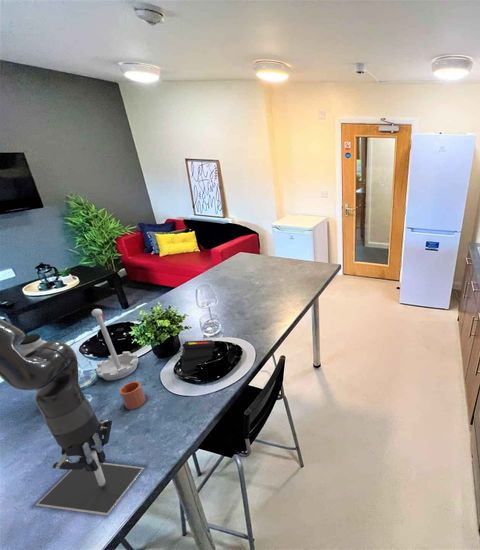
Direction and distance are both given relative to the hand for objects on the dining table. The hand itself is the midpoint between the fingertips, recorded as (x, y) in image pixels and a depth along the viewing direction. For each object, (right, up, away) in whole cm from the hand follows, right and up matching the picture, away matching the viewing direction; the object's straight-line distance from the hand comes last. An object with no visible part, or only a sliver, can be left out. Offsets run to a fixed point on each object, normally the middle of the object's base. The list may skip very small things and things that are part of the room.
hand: (97, 465), depth 75 cm
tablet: (-5, -9, +4) cm, 11 cm away
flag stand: (-31, +10, +44) cm, 54 cm away
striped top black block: (0, +10, +47) cm, 48 cm away
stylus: (-2, -8, +4) cm, 9 cm away
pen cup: (-13, +3, +29) cm, 32 cm away
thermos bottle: (-40, +4, +29) cm, 50 cm away
